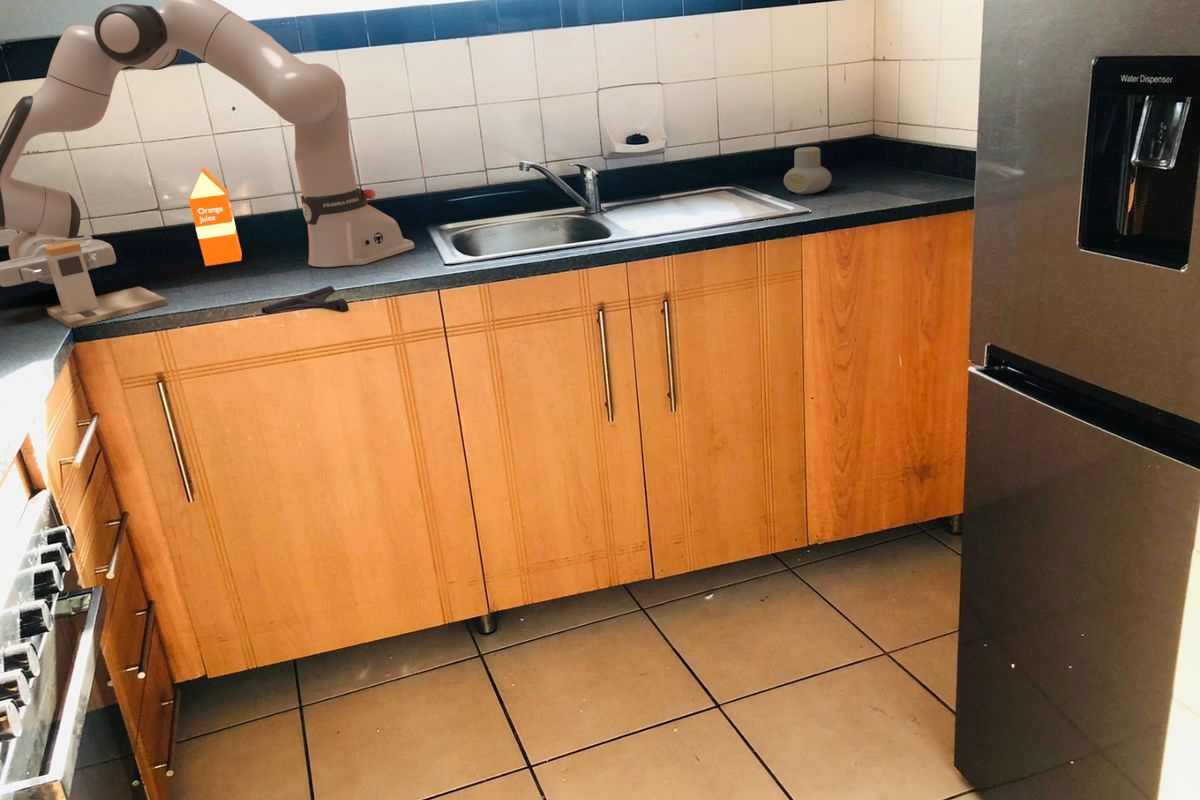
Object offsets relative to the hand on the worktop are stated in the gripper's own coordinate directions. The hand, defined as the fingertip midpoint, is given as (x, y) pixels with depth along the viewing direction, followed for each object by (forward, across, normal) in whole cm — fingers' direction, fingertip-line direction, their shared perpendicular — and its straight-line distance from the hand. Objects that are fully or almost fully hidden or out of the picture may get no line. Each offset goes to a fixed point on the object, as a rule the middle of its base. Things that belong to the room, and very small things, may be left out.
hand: (66, 269), depth 174 cm
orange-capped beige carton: (+1, 0, +7) cm, 7 cm away
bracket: (+38, +30, +10) cm, 49 cm away
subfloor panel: (+1, +5, +9) cm, 10 cm away
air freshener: (+56, +146, +8) cm, 157 cm away
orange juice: (-20, +35, +9) cm, 41 cm away
